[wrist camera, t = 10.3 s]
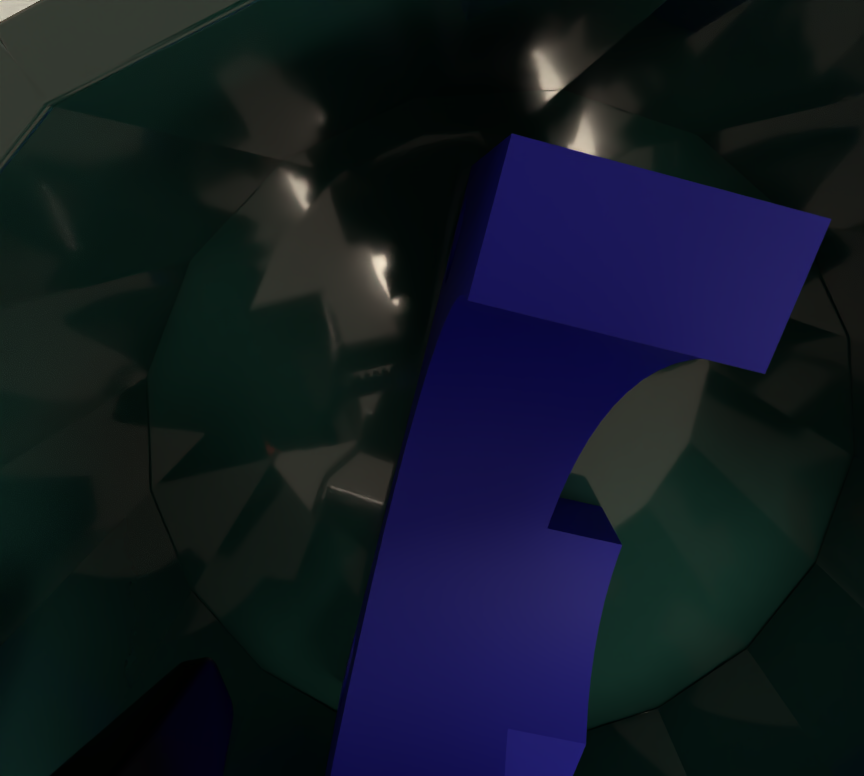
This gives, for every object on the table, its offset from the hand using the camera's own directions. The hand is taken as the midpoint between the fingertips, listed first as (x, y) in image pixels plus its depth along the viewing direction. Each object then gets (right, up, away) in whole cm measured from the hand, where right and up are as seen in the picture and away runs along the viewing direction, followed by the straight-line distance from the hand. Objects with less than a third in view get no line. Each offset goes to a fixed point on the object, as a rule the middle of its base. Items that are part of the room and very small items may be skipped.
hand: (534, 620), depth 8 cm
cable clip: (0, +1, +5) cm, 5 cm away
